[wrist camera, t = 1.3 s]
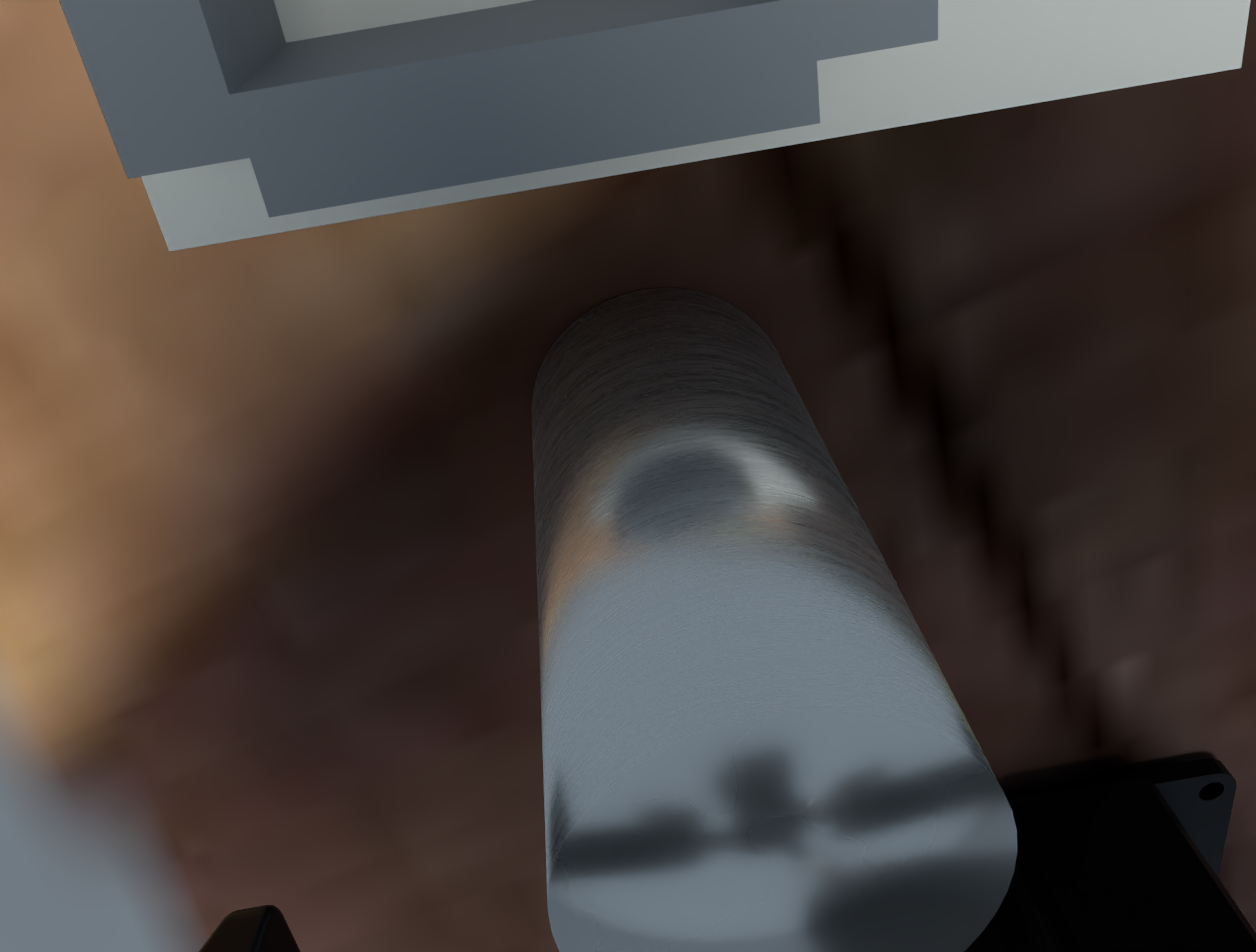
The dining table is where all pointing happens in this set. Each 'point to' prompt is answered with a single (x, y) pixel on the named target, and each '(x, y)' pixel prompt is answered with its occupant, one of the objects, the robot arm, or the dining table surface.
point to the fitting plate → (566, 88)
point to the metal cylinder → (734, 666)
